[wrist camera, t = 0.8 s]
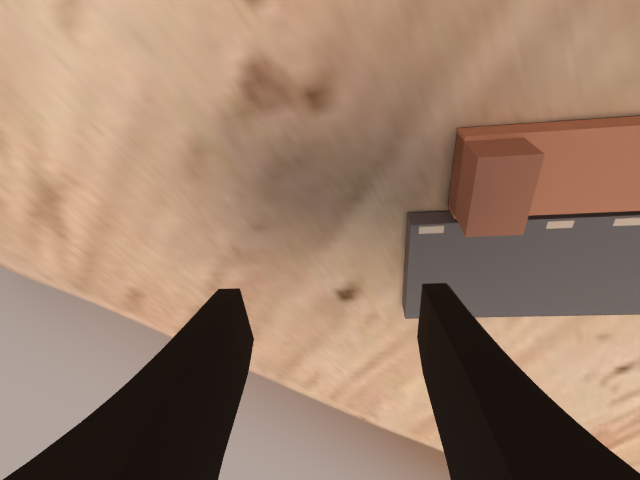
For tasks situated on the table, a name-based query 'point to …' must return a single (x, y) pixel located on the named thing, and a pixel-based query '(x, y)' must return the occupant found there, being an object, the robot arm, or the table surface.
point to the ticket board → (529, 265)
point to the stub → (543, 172)
